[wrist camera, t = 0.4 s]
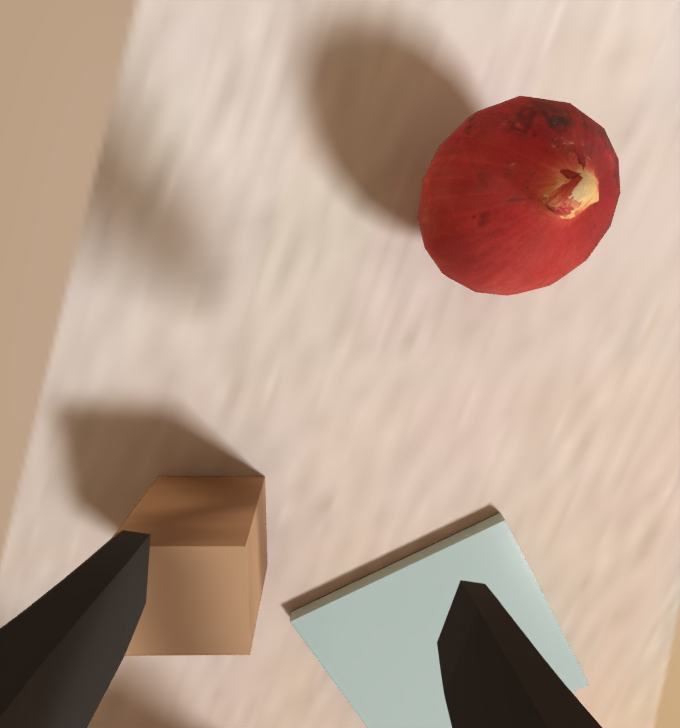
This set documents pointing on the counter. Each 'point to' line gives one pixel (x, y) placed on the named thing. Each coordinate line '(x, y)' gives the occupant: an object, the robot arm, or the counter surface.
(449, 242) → the onion
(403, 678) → the ceramic tile
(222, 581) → the walnut cube
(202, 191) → the counter surface
